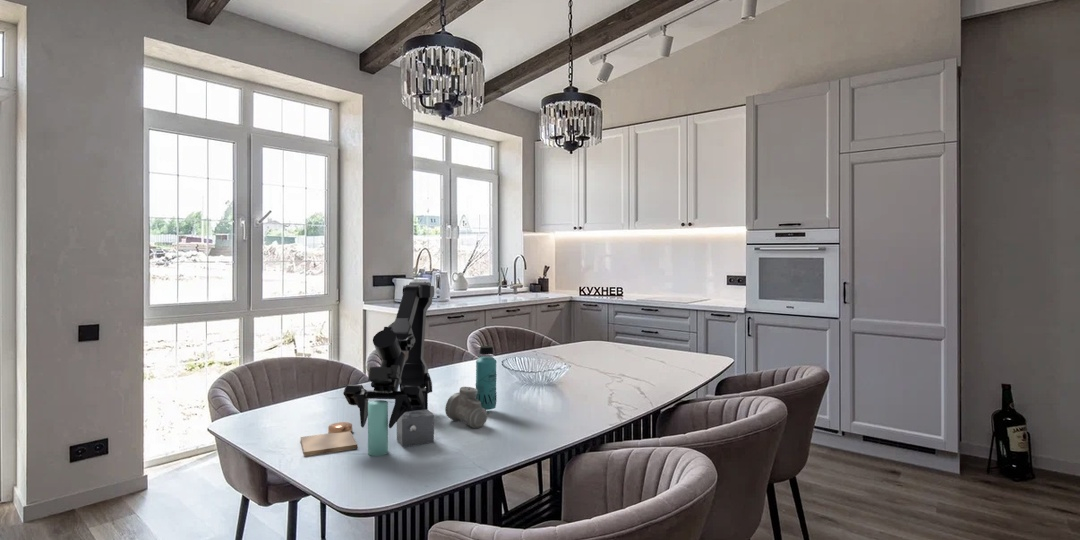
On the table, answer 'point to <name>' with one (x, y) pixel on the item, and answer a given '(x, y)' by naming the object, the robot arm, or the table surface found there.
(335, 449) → the board
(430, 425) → the box
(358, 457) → the table surface
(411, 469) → the table surface
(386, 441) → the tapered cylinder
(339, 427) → the copper dome
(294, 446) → the table surface
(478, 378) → the beverage bottle
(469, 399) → the pipe fitting
